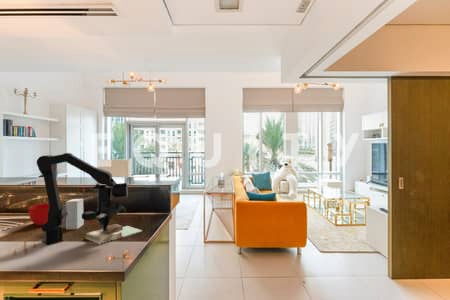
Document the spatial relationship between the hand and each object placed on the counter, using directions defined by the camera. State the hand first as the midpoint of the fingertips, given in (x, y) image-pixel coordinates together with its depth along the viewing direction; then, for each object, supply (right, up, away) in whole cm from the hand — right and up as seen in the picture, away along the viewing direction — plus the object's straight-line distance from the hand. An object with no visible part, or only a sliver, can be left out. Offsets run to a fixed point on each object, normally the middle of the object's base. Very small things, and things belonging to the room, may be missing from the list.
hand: (104, 230), depth 122 cm
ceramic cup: (-44, -3, +23) cm, 50 cm away
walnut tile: (+2, -1, +3) cm, 4 cm away
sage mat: (+6, -4, +9) cm, 12 cm away
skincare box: (-23, -3, +16) cm, 28 cm away
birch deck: (0, -4, 0) cm, 4 cm away
